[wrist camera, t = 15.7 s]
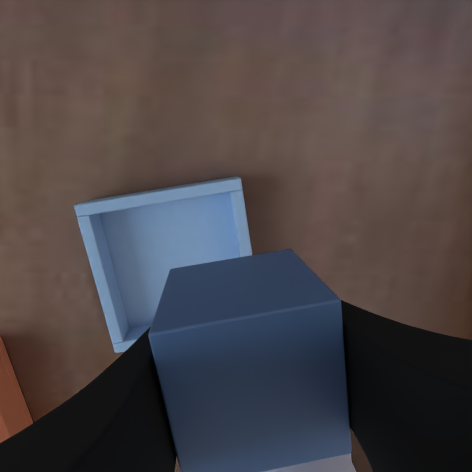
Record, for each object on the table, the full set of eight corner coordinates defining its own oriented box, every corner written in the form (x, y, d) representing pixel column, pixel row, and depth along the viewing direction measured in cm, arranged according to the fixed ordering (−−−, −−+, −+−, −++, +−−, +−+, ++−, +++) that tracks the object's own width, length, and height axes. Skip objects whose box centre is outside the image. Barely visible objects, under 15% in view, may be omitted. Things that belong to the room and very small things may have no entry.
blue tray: (257, 309, 20) (263, 325, 18) (124, 334, 19) (114, 353, 17) (237, 176, 18) (241, 177, 16) (88, 200, 17) (72, 204, 15)
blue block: (302, 354, 12) (353, 454, 8) (191, 374, 12) (183, 489, 8) (291, 247, 11) (341, 299, 7) (169, 268, 11) (146, 334, 7)
